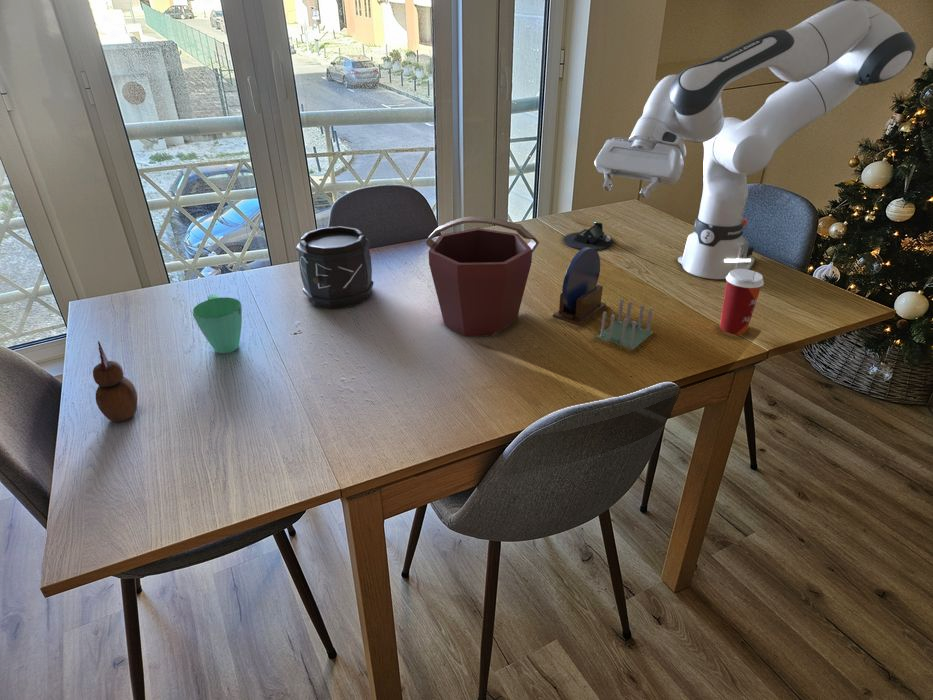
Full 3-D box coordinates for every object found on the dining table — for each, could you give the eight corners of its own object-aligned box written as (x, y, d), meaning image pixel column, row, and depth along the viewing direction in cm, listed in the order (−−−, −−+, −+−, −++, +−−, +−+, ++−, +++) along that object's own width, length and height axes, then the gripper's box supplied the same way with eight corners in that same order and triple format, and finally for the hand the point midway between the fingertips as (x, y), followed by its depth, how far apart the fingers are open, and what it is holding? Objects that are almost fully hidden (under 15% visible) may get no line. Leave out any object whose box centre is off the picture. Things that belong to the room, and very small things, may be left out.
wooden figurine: (114, 406, 117) (89, 337, 109) (146, 404, 117) (122, 335, 109) (99, 427, 111) (71, 357, 103) (132, 426, 111) (107, 355, 103)
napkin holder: (580, 301, 153) (583, 277, 150) (605, 309, 149) (608, 284, 146) (552, 320, 145) (554, 295, 141) (578, 329, 141) (580, 303, 138)
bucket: (544, 311, 149) (550, 210, 136) (511, 353, 132) (514, 243, 119) (453, 293, 158) (451, 198, 145) (411, 331, 141) (405, 227, 128)
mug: (253, 352, 133) (244, 311, 128) (206, 363, 129) (195, 322, 124) (242, 324, 144) (233, 285, 139) (197, 334, 141) (187, 294, 136)
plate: (592, 297, 152) (598, 239, 144) (596, 298, 151) (603, 240, 144) (559, 318, 142) (564, 257, 134) (564, 320, 141) (569, 259, 134)
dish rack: (616, 323, 143) (620, 296, 139) (652, 335, 138) (657, 307, 134) (595, 340, 136) (598, 312, 133) (632, 353, 131) (636, 324, 128)
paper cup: (753, 341, 135) (768, 283, 128) (716, 338, 137) (730, 280, 129) (746, 324, 142) (761, 268, 135) (712, 322, 143) (724, 266, 136)
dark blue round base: (601, 254, 180) (603, 236, 177) (555, 244, 187) (556, 227, 184) (620, 238, 191) (622, 221, 188) (575, 230, 198) (577, 213, 195)
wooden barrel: (288, 304, 153) (278, 245, 145) (328, 277, 168) (320, 221, 160) (350, 316, 147) (343, 255, 139) (386, 287, 162) (381, 230, 154)
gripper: (605, 127, 145) (580, 178, 144) (688, 137, 134) (662, 192, 132) (612, 143, 150) (588, 192, 149) (693, 154, 139) (668, 207, 137)
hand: (624, 192), depth 141 cm, fingers open, 8 cm apart
